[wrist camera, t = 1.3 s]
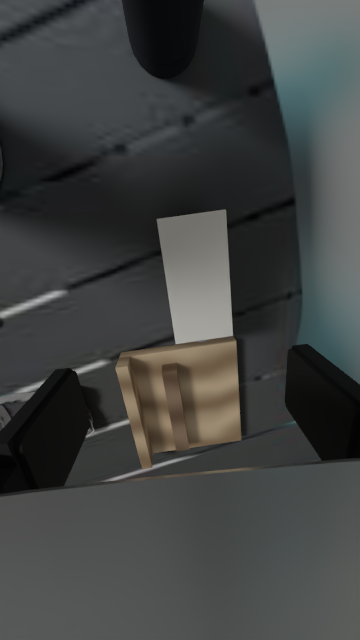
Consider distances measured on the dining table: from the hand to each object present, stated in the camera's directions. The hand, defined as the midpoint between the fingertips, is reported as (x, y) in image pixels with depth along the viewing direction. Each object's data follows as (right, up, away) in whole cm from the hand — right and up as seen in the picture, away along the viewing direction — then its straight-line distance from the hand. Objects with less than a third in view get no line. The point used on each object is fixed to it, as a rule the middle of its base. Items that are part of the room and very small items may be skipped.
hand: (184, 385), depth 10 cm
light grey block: (+1, +9, +19) cm, 21 cm away
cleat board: (+1, -9, +26) cm, 27 cm away
